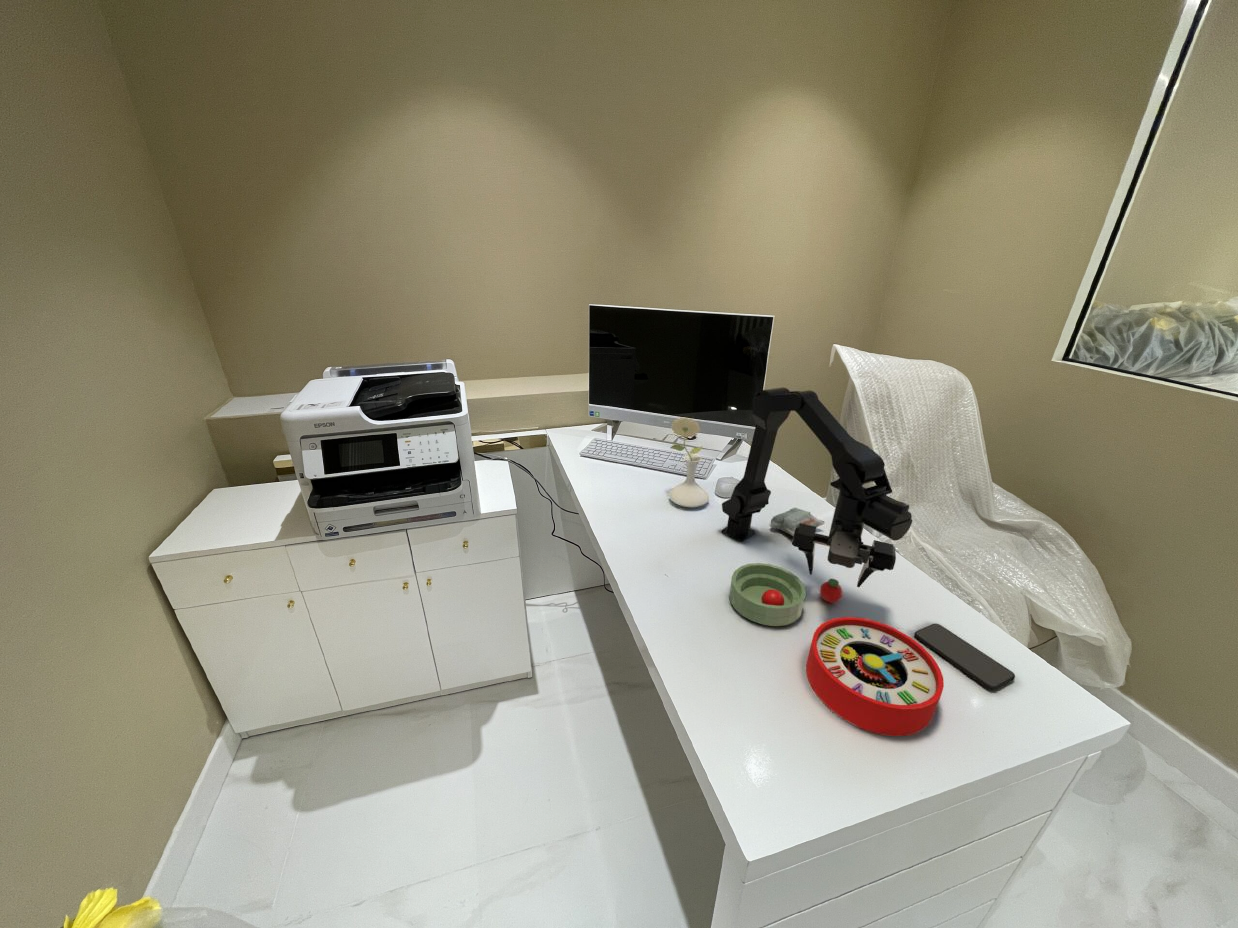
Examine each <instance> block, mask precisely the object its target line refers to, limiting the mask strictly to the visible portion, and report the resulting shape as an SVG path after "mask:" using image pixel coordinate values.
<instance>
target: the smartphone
mask: <svg viewBox="0 0 1238 928" xmlns="http://www.w3.org/2000/svg"><path fill="white" fill-rule="evenodd" d="M913 635H914V637H915V639H917V641H919V642H921V643H922V644H924V645H925V646H927V647H928V648H930V649H931V650H932V651H934V652H935V654H938V655H939V656H941V657H942V658H944V659H945V660H946V661H947V662H949V663H951V664H952V665H953V666H955V668H957V669H959V670H960V671H962V672H963V673H965V674H966V675H967V676H968V677H970V678H971V679H973V680H975V682H977V683H979V684H980V685H982V686H983V687H985V688H986V689H988V690H990V691H995V690H998V689H1000V688H1001V687H1003V686H1004V685H1006V684H1008V683H1010V682H1012V681H1014V680H1015V678H1016V674H1015V672H1014V671H1012V670H1010V669H1009V668H1007V667H1006V666H1004V665H1003V664H1001V663H1000V662H998V661H996V660H995V659H993V658H992V657H990V656H989V655H987V654H986V653H985V652H983V651H981V650H980V649H978V648H977V647H975V646H973V645H972V644H970V643H969V642H967V641H966V640H965V639H963V638H961V637H960V636H959V635H957V634H956V633H954V632H953V631H950V629H947V628H945V627H944V626H943V625H941V624H939V623H932V624H930V625H927V626H925V627H922V628H920V629H918V630H916V631H914V633H913Z"/></svg>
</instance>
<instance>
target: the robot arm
mask: <svg viewBox="0 0 1238 928" xmlns="http://www.w3.org/2000/svg"><path fill="white" fill-rule="evenodd" d="M791 412H795V413H796V414H797V415H798V416H799V417H800V419H801V420H802V421H803V422H804V423H805V425H806V426H807V427H808V428H809V430H810V431H811V432H812V433H813V435H814V436H815V437H816V438H817V440H818V441H819V442H820V444H822V446H823V447H825V449H826V451H828V453H829V455H830V456H831V464H832V467H833V470H834V471H835V473H836V474H837V476H838V478H837V479H836V480H834V481H831V482H830V483H829V485H830V486H831V487H833V488H835V489H837V490H838V496H837V499H836V503H835V507H834V511H833V516H832V520H831V524H830V529H829V534H828V535H825V534H821V533H817V532H816V531H817V528H816V527H815V526H811V525H806V524H802V523H799V524H797V525H796V529H795V532H794V536H792V537H793V538H792V540H791V541H792V542H791V546H793V547H795V548H797V549H798V551H800V552H802V553H804V556H805V558H806V563H807V567H808V573H809V575H813V570H814V565H815V564H814V563H815V554H816V553H815V551H816V550H815V549H816V545H817V544H818V545H821V546H825V547H829V548H828V553H827V561H828V563H829V564H832V565H838V566H842V567H845V568H847V569H852V568H854V567H855V566H856V565H862V567H861V570H860V574H859V575H858V577H857V578H858V579H857V583H856V587H857V588H860V587H861V586H862V585H863V584H864V583H865V582H866V581H867V579H868V578H869V577H870V576H871V575H872V574H873V573H874V572H877V571H878V572H879V571H880V572H884V571H885V570H888V571H892V570H894V568H895V565H896V561H897V555H896V547H895V545H894V544H892V543H889V542H884V541H880V540H876V539H874V540H873V541H872V543H871V545H870V544H869V545H868V544H864V542H863V539H862V535H863V532H864V528H865V526H866V527H868V528H870V529H872V530H874V531H876V532H877V533H879V534H881V535H883V536H884V537H886V538H888V539H889V540H892V541H899V540H901V539H903V537H904V536H905V535H906V534H907V533H908V531H909V530H910V528H911V527H912V524H913V515H912V513H911V512H910V511H909V509H910V505H909V504H908V503H905V502H903V501H899V500H897V499H894V498H892V497H890V496H888V495H890V494H892V493H893V489H892V485H891V483H890V481H889V478H888V475H887V472H886V468H885V466H886V463H885V461H884V459H883V457H882V456H880V455H879V453H877V452H876V451H875V450H873V449H872V448H871V447H869V446H868V445H866V444H865V443H862V442H861V441H858V440H856V439H855V438H853V437H852V436H851V435H850V434H849V432H848V431H847V430H846V428H844V427H843V425H842V424H841V423H840V422H839V421H838V420H837V418H836V417H835V416H834V415H833V414H832V413H831V411H830V410H829V409H828V408H827V407H826V406H825V405H824V404H823V402H822V401H821V400H820V398H819V396H818V394H817V393H816V392H815V391H813V390H809V389H808V390H792V391H791V390H789V389H788V388H787V387H784V386H782V387H775V388H767V389H760V390H759V391H757V392H755V394H754V396H753V399H752V408H751V415H752V417H753V420H754V422H755V427H754V431H753V436H752V440H751V443H750V448H749V452H748V458H747V461H746V465H745V470H744V474H743V477H742V478H741V480H739V482H738V483H737V484H736V485H735V486H734V488H733V491H732V493H731V496H730V498H729V499H727V500H725V501H724V502H721V510H722V512H723V513H724V514H725V515H727V516H728V518H727V523H726V524H727V525H726V527H724V528H722V529H721V531H720V532H721V533H722V534H724V535H726V536H728V537H730V538H733V539H735V540H736V541H739V542H741V543H743V542H745V541H746V540H748V539H749V538H750V537H751V536H753V535H755V534H756V530H754V529H752V528H751V526H752V521H753V515H754V514H759V513H761V511H762V510H763V509H765V508H766V506H767V505H769V503H770V502H769V499H770V496H771V494H772V491H771V490H770V489H768V487H767V484H766V482H765V480H766V476H767V473H768V470H769V464H770V461H771V457H772V455H773V451H774V445H775V442H776V438H777V435H778V431H779V428H780V427H781V426H782V425H783V424H784V423H785V421H787V419H788V418H789V416H790V414H791ZM872 483H874V484H875V485H873V486H869V487H864V486H865V485H868V484H872Z"/></svg>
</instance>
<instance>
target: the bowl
mask: <svg viewBox="0 0 1238 928" xmlns="http://www.w3.org/2000/svg"><path fill="white" fill-rule="evenodd" d="M731 575H732V576H731V580H730V586H729V593H728V595H729V602H730V603H731V605H732V607H733V609H734V610H735V611H737V612H738V613H739V615H741V616H742V617H744V618H746V619H748V620H749V621H752V622H754V623H757V624H760V625H764V626H770V627H782V626H788V625H790V624H793V623H795V622H797V620H799V618H801V616H802V612H803V608H804V604H805V600H806V594H807V590H806V587H805V584H804V583H803V582H802V580H801V579H800V578H799V577H798V576H797V575H795V574H794V573H793V572H791V571H790V570H788V569H786V568H783V567H781V566H778V565H775V564H770V563H763V562H755V563H747V564H743V565H741V566H739V567H738V568H737V569H735V570H734V571H733V573H732V574H731ZM771 589H773V590H777V591H779V592H780V593H781V594H782V596H783V598H784V605H782V606H775V605H767V604H763V603H762V600H761V599H762V595H763V594H764V592H766V591H767V590H771Z"/></svg>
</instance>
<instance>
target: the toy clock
mask: <svg viewBox="0 0 1238 928" xmlns="http://www.w3.org/2000/svg"><path fill="white" fill-rule="evenodd" d="M810 644H811V645H810V647H809V652H808V656H807V658H806V659H807V660H806V664H805V673H806V678H807V680H808V682H809V683H808V684H810V687H811V689H812V690H813V692H814V694H815V695H816V697H818V699H819V700H820V702H822V703H823V704H824V706H825V707H827V708H828V709H829V710H831V712H833V713H834V714H835V715H837V716H838V717H840V718H841V719H842V720H843V721H846V722H848V723H849V724H851V725H853V726H855V727H857V728H860V729H862V730H865V731H867V732H871V733H875V734H878V735H882V736H889V737H906V736H910V735H914V734H918V733H919V732H921V731H923V730H924V729H926V727H928V725H929V724H930V723H931V721H932V719H933V717H934V714H935V712H936V709H937V708H938V707H937V706H938V704H939V702H940V699H941V697H942V694H943V691H944V687H945V685H944V684H945V683H944V682H945V681H944V676H943V673H942V669H941V668H940V666H939V664H938V663H937V661H936V660H935V659H934V657H933V656H932V654H930V652H929V651H928V650H927V649H925V647H923V645H921V644H920V643H919V642H917V641H916V640H915V639H914V638H912V637H910V636H909V635H907V634H906V633H904V632H902V631H900V630H899V629H897V628H894V627H892V626H890V625H888V624H886V623H883V622H879V621H877V620H873V619H868V618H863V617H856V616H855V617H854V616H843V617H835V618H832V619H828V620H827V621H824V622H822V623H821V624H820V625H819V626H817V628H816V629H815V631H814V632H813V635H812V639H811V643H810Z"/></svg>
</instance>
